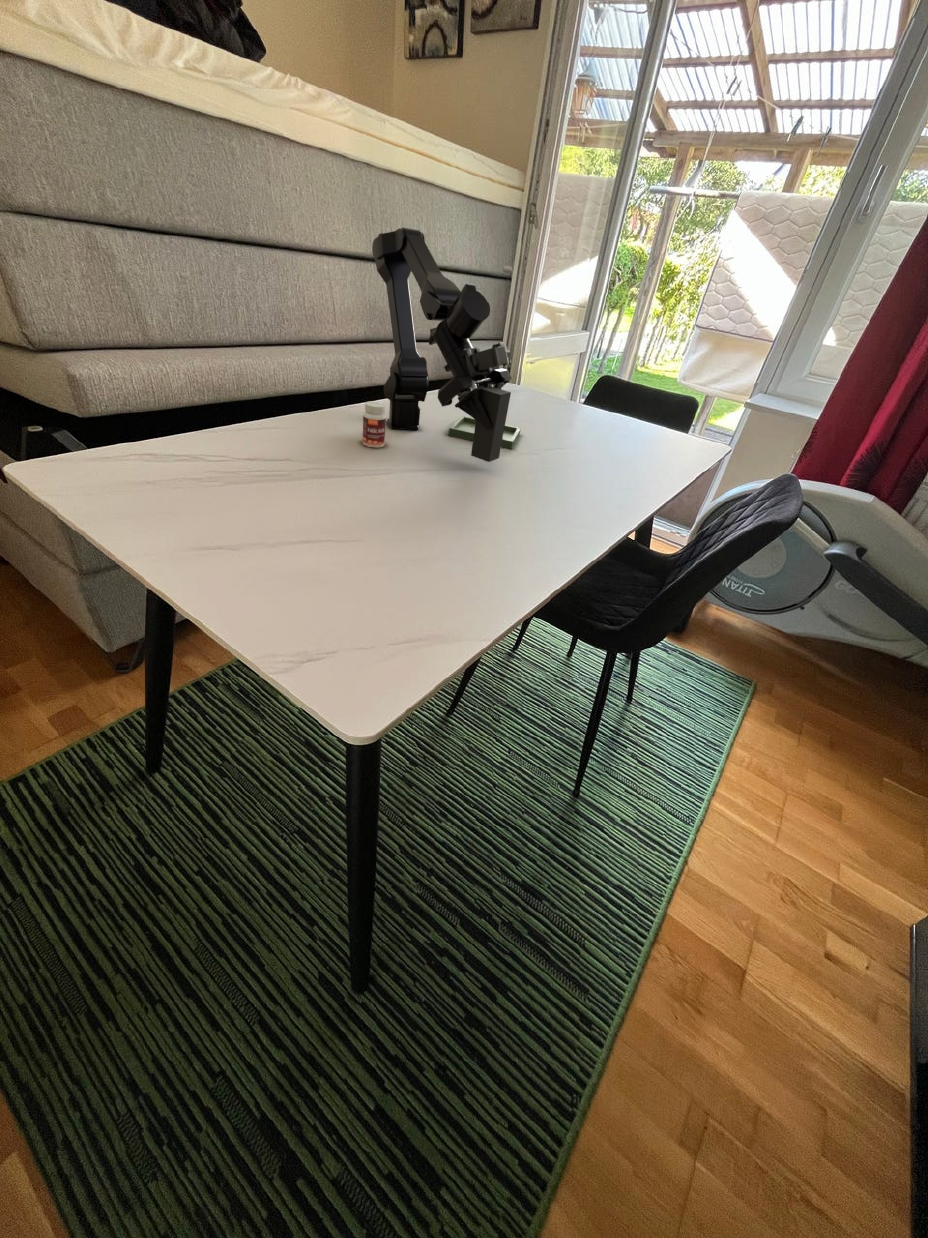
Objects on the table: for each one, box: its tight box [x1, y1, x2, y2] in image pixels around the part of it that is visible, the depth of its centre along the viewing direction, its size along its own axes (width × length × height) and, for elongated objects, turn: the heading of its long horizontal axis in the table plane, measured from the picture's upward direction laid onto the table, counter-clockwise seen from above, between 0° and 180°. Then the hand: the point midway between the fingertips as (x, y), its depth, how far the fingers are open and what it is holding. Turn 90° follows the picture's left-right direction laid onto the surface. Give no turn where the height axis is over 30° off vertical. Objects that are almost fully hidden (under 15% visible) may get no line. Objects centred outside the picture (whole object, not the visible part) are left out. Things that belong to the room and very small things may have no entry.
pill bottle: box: [362, 400, 387, 449], centre depth 109 cm, size 5×5×8 cm
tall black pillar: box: [470, 387, 512, 463], centre depth 103 cm, size 4×4×13 cm
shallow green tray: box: [448, 415, 522, 450], centre depth 127 cm, size 16×13×2 cm
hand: (496, 426), depth 102 cm, fingers closed on tall black pillar, 4 cm apart
